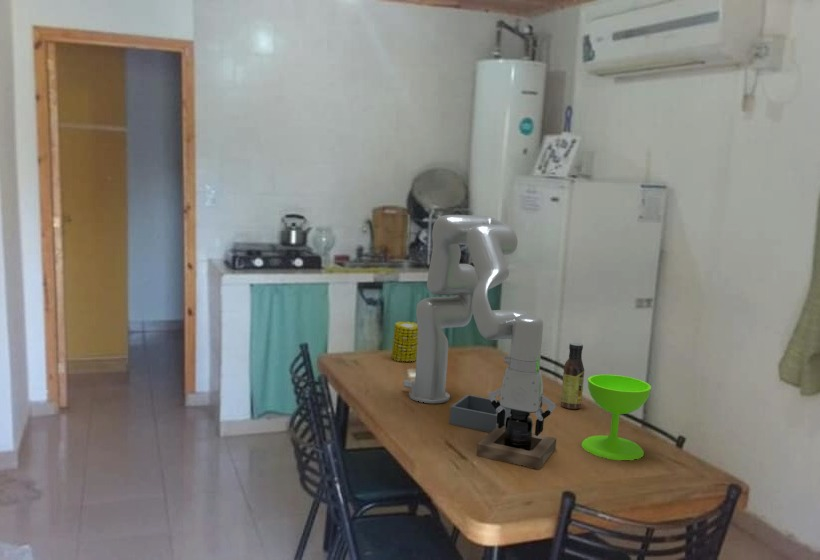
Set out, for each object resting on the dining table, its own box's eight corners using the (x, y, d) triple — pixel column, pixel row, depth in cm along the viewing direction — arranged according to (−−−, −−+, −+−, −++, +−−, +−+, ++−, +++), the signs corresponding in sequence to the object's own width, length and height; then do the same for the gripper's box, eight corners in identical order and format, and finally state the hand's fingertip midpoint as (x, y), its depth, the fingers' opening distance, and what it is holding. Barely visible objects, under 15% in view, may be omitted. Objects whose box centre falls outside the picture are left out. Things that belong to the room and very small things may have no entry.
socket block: (476, 455, 188) (477, 444, 187) (496, 436, 202) (497, 426, 202) (539, 469, 181) (540, 457, 181) (555, 449, 196) (556, 438, 195)
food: (410, 360, 283) (418, 368, 274) (381, 353, 280) (388, 362, 270) (422, 322, 282) (430, 329, 272) (393, 315, 278) (400, 322, 268)
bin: (449, 423, 210) (450, 406, 210) (466, 410, 223) (467, 394, 222) (495, 433, 205) (496, 415, 204) (510, 419, 217) (511, 403, 216)
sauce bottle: (581, 411, 229) (587, 347, 226) (560, 408, 230) (566, 345, 227) (580, 404, 235) (586, 343, 233) (560, 402, 237) (566, 341, 234)
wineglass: (647, 445, 203) (654, 381, 200) (639, 465, 188) (647, 396, 185) (587, 434, 209) (594, 371, 206) (575, 452, 194) (582, 385, 192)
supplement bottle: (501, 447, 195) (504, 402, 193) (526, 447, 195) (530, 403, 194) (506, 457, 188) (510, 411, 186) (533, 457, 189) (537, 411, 187)
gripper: (486, 362, 189) (482, 428, 191) (554, 373, 181) (548, 441, 184) (496, 356, 195) (491, 420, 198) (562, 367, 188) (556, 432, 191)
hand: (519, 430), depth 191 cm, fingers open, 9 cm apart
